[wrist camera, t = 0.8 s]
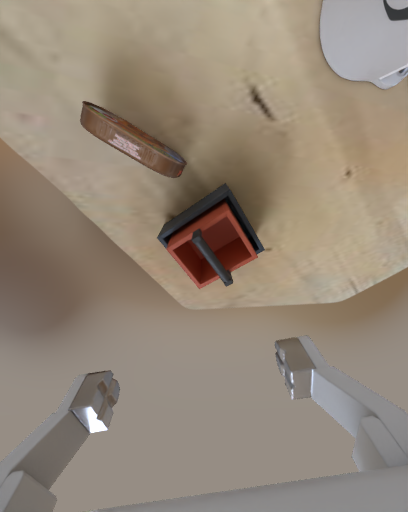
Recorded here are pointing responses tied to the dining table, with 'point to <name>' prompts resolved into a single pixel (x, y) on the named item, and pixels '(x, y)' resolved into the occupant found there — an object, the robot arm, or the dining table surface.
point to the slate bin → (203, 206)
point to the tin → (131, 140)
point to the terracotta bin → (211, 246)
